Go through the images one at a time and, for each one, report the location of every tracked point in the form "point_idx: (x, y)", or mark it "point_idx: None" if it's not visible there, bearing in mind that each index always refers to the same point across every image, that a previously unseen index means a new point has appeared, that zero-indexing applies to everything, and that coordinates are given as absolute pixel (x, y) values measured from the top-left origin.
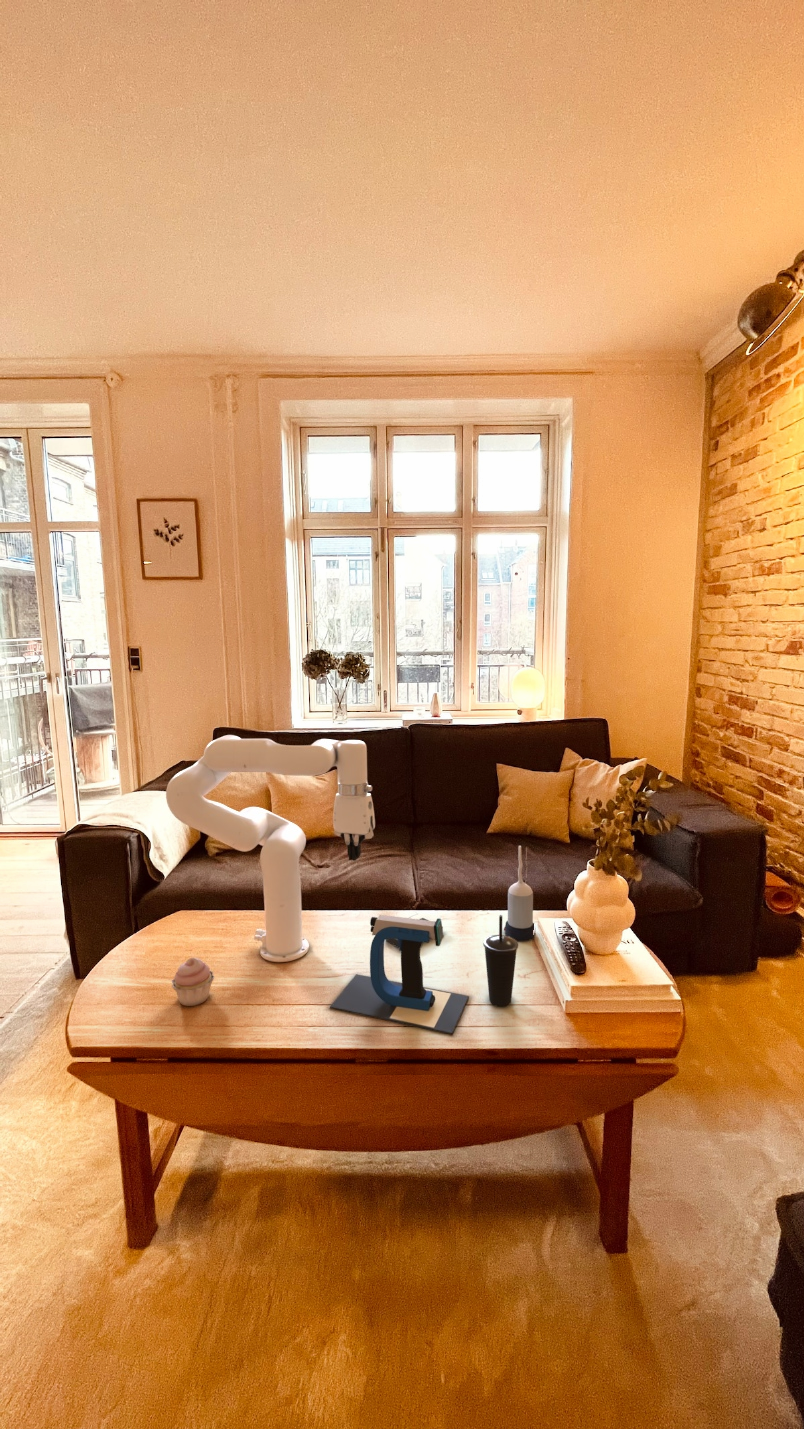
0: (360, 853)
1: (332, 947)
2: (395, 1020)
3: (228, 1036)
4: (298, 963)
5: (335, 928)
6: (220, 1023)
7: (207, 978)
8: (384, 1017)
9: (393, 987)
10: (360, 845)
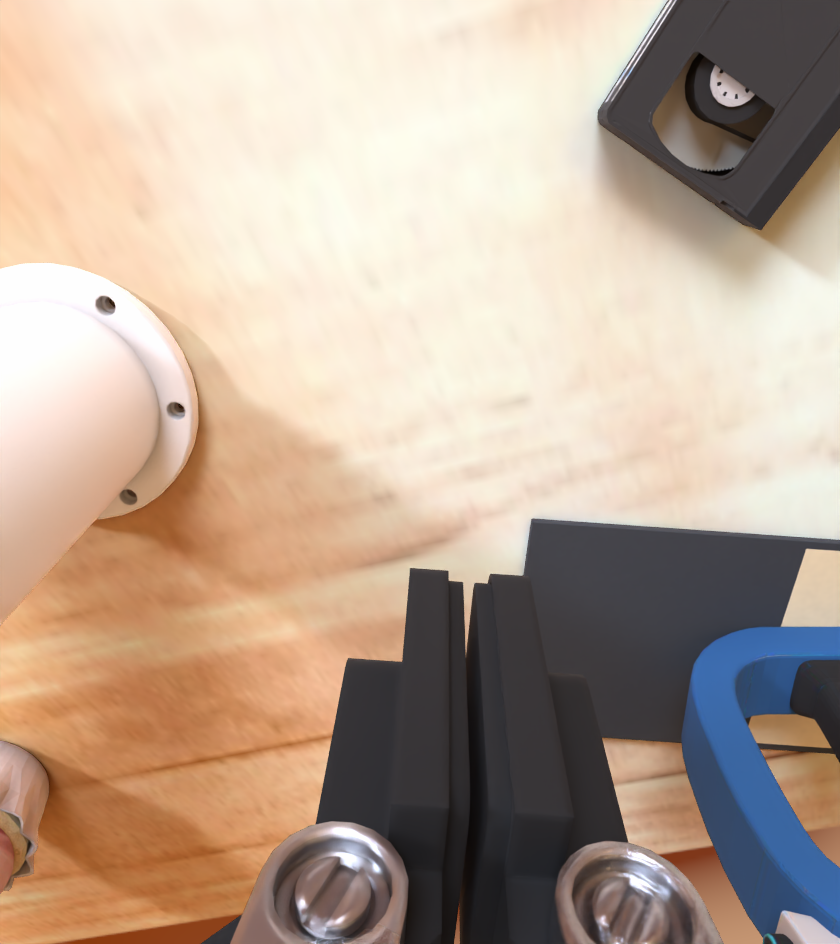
0: (586, 693)
1: (299, 293)
2: (766, 748)
3: (253, 882)
4: (214, 486)
5: (193, 29)
6: (187, 846)
7: (11, 845)
8: None
9: (760, 675)
10: (624, 831)
